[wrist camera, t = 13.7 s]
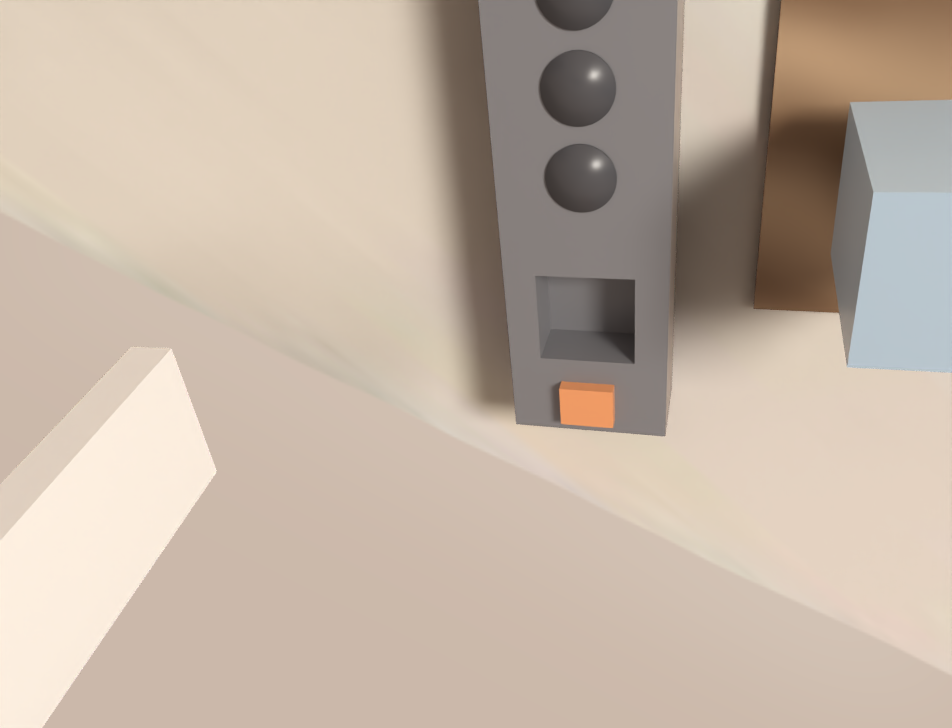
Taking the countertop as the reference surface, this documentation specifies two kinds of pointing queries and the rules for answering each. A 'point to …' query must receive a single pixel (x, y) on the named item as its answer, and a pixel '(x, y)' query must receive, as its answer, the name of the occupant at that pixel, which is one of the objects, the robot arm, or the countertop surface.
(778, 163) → the coaster
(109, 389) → the robot arm
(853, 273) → the block
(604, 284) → the power strip
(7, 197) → the countertop surface
